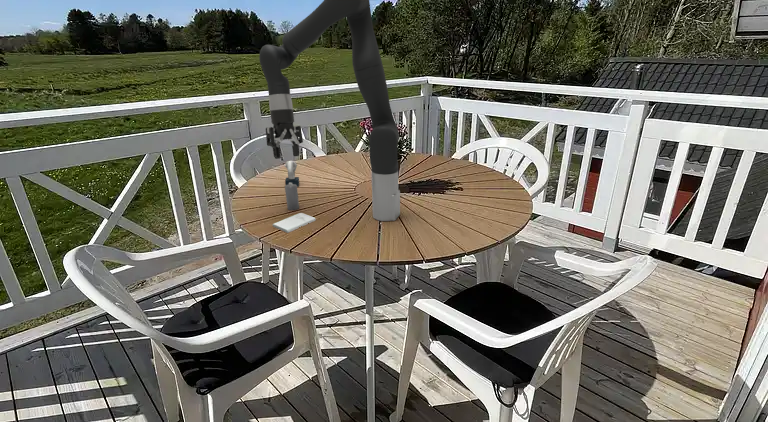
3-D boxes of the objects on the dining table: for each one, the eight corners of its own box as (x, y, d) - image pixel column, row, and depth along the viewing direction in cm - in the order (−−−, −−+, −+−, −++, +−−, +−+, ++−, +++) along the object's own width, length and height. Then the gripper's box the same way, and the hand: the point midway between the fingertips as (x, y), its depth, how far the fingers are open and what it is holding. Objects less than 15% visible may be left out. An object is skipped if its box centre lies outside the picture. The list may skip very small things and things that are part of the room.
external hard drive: (272, 227, 136) (300, 215, 145) (287, 234, 131) (315, 221, 140) (272, 223, 135) (300, 211, 144) (287, 230, 131) (315, 217, 139)
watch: (299, 182, 177) (297, 158, 173) (298, 188, 170) (295, 163, 166) (287, 182, 177) (284, 159, 172) (285, 189, 169) (282, 164, 165)
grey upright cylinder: (301, 206, 151) (298, 181, 147) (295, 211, 148) (292, 185, 143) (291, 205, 153) (288, 180, 149) (285, 209, 149) (282, 184, 145)
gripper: (272, 108, 124) (279, 159, 128) (304, 108, 136) (309, 155, 139) (257, 110, 128) (263, 159, 132) (289, 110, 140) (294, 155, 143)
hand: (287, 157), depth 135 cm, fingers open, 8 cm apart
